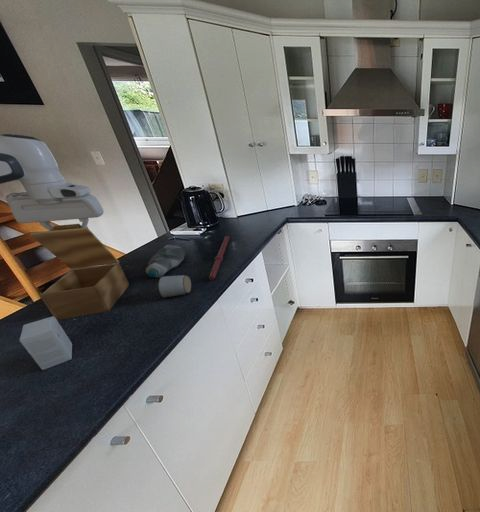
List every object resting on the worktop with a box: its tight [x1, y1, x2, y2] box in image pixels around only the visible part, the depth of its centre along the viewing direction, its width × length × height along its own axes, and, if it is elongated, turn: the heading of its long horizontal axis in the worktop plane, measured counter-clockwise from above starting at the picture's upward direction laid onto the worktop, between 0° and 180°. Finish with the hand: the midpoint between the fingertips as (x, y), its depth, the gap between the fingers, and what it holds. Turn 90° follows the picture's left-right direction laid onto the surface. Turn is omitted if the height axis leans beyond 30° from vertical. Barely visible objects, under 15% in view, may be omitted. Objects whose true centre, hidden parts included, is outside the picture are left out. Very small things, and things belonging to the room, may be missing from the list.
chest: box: [39, 262, 130, 321], centre depth 96 cm, size 18×14×10 cm
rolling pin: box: [208, 235, 231, 281], centre depth 129 cm, size 45×3×3 cm, turn 20°
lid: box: [29, 223, 120, 270], centre depth 95 cm, size 18×14×5 cm
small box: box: [18, 315, 73, 371], centre depth 72 cm, size 8×6×10 cm
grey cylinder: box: [158, 274, 192, 298], centre depth 102 cm, size 11×8×8 cm
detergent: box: [144, 243, 187, 279], centre depth 118 cm, size 13×7×25 cm
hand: (70, 232), depth 91 cm, fingers closed on lid, 6 cm apart
